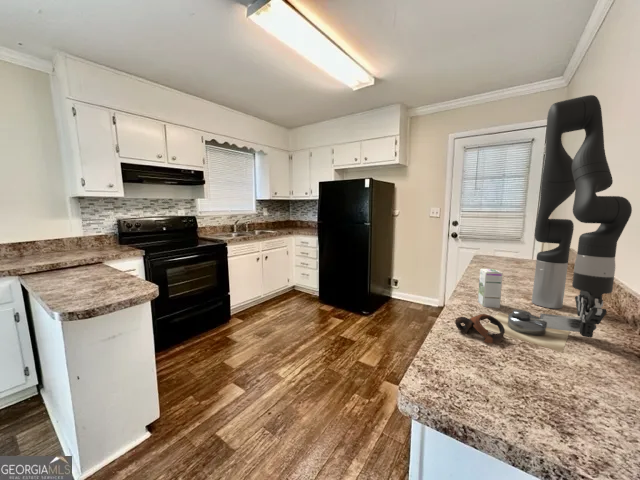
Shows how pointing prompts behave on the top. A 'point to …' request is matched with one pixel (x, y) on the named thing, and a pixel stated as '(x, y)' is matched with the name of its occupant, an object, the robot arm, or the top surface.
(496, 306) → the syrup box
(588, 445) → the top surface
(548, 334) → the beige flat square slab
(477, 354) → the top surface
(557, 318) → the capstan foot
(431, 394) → the top surface
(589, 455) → the top surface
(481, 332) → the brown curved loop piece
